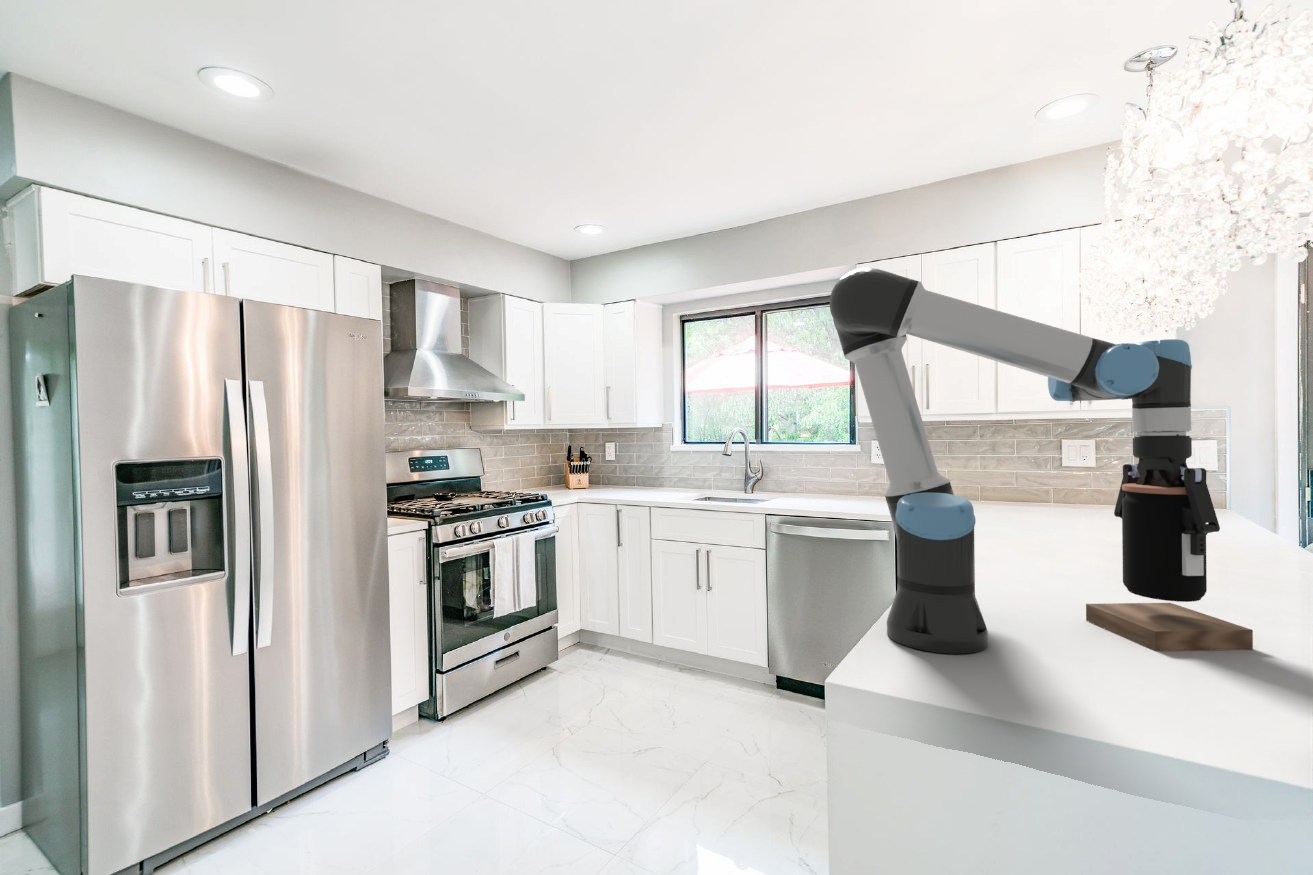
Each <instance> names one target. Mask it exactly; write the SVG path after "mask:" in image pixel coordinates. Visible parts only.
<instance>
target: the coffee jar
mask: <svg viewBox="0 0 1313 875" xmlns="http://www.w3.org/2000/svg"><path fill="white" fill-rule="evenodd" d="M1122 490H1124V492H1125V493H1126V496H1125V497H1124V498H1123V499H1122V518H1121V524H1122V525H1121V528H1122V529H1121V530H1122V532H1121V535H1122V538H1121V539H1122V540H1121V541H1122V545H1121V546H1122V583H1123V586H1124V587H1125V588H1126V590H1127V591H1128V592H1129V593H1131V594H1133V595H1135V596H1136V595H1137V596H1140V597H1142V598H1148V599H1153V600H1160V601H1161V600H1162V601H1166V602H1167V601H1168V602H1178V603H1179V602H1183V603H1185V602H1186V603H1188V602H1189V603H1190V602H1191V603H1192V602H1198V601H1202V600H1201V599H1203V597H1205V595H1206V593H1207V591H1208V590H1207V587H1208V586H1207V553H1206V554H1205V555H1204V576H1185V575H1182V533H1183V532H1184V531H1185V530H1186V529H1185V527H1184V525H1183V523H1182V507H1184V508H1188V509H1191V506H1190V503H1189V499H1188V496H1187V492H1186V489H1185V487H1172V488H1166V487H1161V486H1151V485H1138V484H1136V483H1130V484H1123V485H1122ZM1194 526H1196V525H1195V524H1194Z"/></svg>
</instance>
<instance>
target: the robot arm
mask: <svg viewBox="0 0 1313 875" xmlns="http://www.w3.org/2000/svg"><path fill="white" fill-rule="evenodd" d="M829 311H830V314H831V316H832V317H831V318H832V320H833V325H834V328H835V330H836V332H837V336H838V339H839V342H840V346H841V350H842V353H843V356H844V358H845V360H848V361H849V362H852V363H853V364H854V365H855V367H856V368H855V369H856V371H857V375H858V378H859V382H860V385H861V388H862V392H863V395H864V399H865V402H866V405H867V409H868V412H869V416H870V419H871V423H872V425H873V429H874V432H875V436H876V440H877V443H878V448H879V450H880V453H881V457H882V460H883V463H884V467H885V471H886V474H887V477H888V481H889V486H888V487H887V489H886V491H885V492H884V497H885V501H886V504H887V507H888V511H889V514H890V518H891V522H892V526H893V531H894V534H895V537H896V551H897V552H896V559H897V560H896V562H897V563H896V564H897V568H896V569H897V587H896V588H897V590H896V591H895V595H894V598H893V601H892V604H891V607H890V609H889V612H888V616H887V619H886V634H887V636H888V637H889V638H890V639H891V640H893V642H896V643H898V644H901V645H904V646H905V647H909V648H912V649H915V650H920V651H924V652H926V651H927V652H931V653H939V654H940V653H941V654H953V655H954V654H970V653H971V654H972V653H978V652H980V651H984V650H985V649H987V647H988V646H989V639H988V638H989V637H988V636H989V635H988V633H989V632H988V628H987V624H986V621H985V618H984V616H983V613H982V611H981V608H980V605H979V602H978V599H977V597H976V587H975V585H976V583H975V582H976V578H975V577H976V576H975V574H976V572H975V571H976V569H975V567H976V566H975V564H976V563H975V562H976V560H975V526H976V522H977V521H976V516H975V512H974V511H975V510H974V506H973V504H972V503H971V501H970V500H968V499H967V498H965V497H964V496H963V497H962V496H960V495H955V494H954V491H953V488H952V483H951V480H950V479H949V478H947V477H945V476H944V475H942V474H940V473H939V471H938V469H937V465H936V462H935V459H934V454H933V451H932V449H931V445H930V441H929V438H928V435H927V431H926V429H925V426H924V421H923V418H922V415H921V411H920V408H919V405H918V402H917V398H916V394H915V391H914V388H913V385H912V381H911V378H910V375H909V371H908V368H907V365H906V362H905V361H906V360H905V358H904V354H903V352H902V350H903V347H904V345H905V343H906V342H907V340H908V337H907V335H909V336H912V337H916V338H920V339H922V340H926V341H929V342H933V343H934V344H939V345H941V346H945V347H948V348H952V349H955V350H959V351H962V352H963V353H967V354H968V353H969V354H972V355H975V356H978V357H981V358H984V359H988V360H991V361H995V362H999V363H1001V364H1005V365H1007V366H1011V367H1015V368H1017V369H1021V370H1023V371H1026V372H1031V373H1034V374H1038V375H1039V376H1043V377H1047V387H1048V388H1047V389H1048V392H1049V396H1050V397H1051V398H1052V399H1053V400H1054V401H1057V402H1072V403H1075V402H1082V401H1083V402H1084V401H1085V402H1086V401H1087V402H1088V401H1092V402H1093V401H1108V400H1114V401H1115V400H1131V402H1132V403H1131V404H1132V405H1131V409H1132V410H1131V412H1132V413H1131V414H1132V415H1131V417H1132V418H1131V431H1132V432H1133V433H1136V435H1135V436H1134V437H1132V456H1133V457H1134V458H1137V459H1138V462H1137V463H1130V464H1129V463H1127V464H1126V463H1124V464H1123V466H1122V480H1121V484H1120V488H1119V492H1118V496H1117V499H1116V504H1115V508H1114V511H1113V515H1114V516H1115V517H1116V518H1120V519H1122V499H1123V498H1124V497H1125V496H1126V493H1125V492H1124V490H1122V485H1123V484H1130V483H1136V484H1138V485H1151V486H1161V487H1166V488H1172V487H1185V489H1186V492H1187V496H1188V499H1189V503H1190V506H1191V509H1188V508H1184V507H1182V523H1183V525H1184V527H1185V529H1186V530H1185V531H1184V532H1183V533H1182V575H1185V576H1204V555H1205V554H1206V555H1207V535H1208V534H1209V533H1211V534H1212V533H1214V532H1215V533H1219V531H1220V529H1221V528H1220V524H1219V521H1218V517H1217V513H1216V511H1215V507H1214V503H1213V501H1212V497H1211V494H1210V490H1209V487H1208V484H1207V469H1206V468H1204V467H1196V468H1195V467H1194V468H1193V467H1192V468H1191V467H1190V468H1189V467H1188V465H1187V459H1189V458H1191V457H1192V456H1193V453H1192V450H1193V449H1192V446H1193V445H1192V444H1193V443H1192V437H1191V436H1190V435H1187V433H1190V432H1191V431H1192V402H1191V400H1192V399H1191V398H1192V395H1191V394H1192V393H1191V392H1192V369H1193V364H1192V357H1191V351H1190V345H1189V343H1188V342H1187V341H1186V340H1184V339H1176V338H1175V339H1174V338H1173V339H1172V338H1171V339H1158V340H1147V341H1141V342H1136V343H1129V342H1127V343H1124V342H1123V343H1117V344H1116V343H1113V342H1109V341H1106V340H1102V339H1097V338H1093V337H1091V336H1088V335H1084V334H1080V333H1077V332H1073V331H1070V330H1067V329H1064V328H1059V327H1057V326H1053V325H1050V324H1049V325H1048V324H1046V323H1044V322H1043V323H1042V322H1039V321H1036V320H1032V319H1028V318H1026V317H1025V318H1024V317H1022V316H1019V315H1014V314H1011V313H1007V312H1004V311H1000V310H998V309H994V308H990V307H986V306H983V305H979V304H977V303H972V302H969V301H965V300H962V299H958V298H954V297H951V296H948V295H945V294H941V293H937V292H934V291H931V290H927V289H925V287H924V286H923V283H922V281H919V280H916V279H912V278H909V277H905V276H902V275H898V274H896V273H893V272H889V271H886V270H883V269H879V268H873V267H872V268H871V267H862V268H856V269H853V270H851V271H848V272H847V273H846V274H845V275H843V276H842V277H841V278H840V279H838V281H837V282H836V284H834V286H833V288H832V290H831V293H830V296H829ZM1194 524H1195V525H1196V526H1194Z"/></svg>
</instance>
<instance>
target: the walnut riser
mask: <svg viewBox="0 0 1313 875" xmlns="http://www.w3.org/2000/svg"><path fill="white" fill-rule="evenodd" d="M1085 617H1086V618H1085V621H1086V622H1088V621H1089V623H1090V622H1091V624H1093V623H1094V624H1093V625H1095V626H1097V627H1100V628H1102V629H1104V628H1105V630H1106V631H1110V632H1111V633H1114V634H1116V635H1119V636H1121V637H1122V636H1123V637H1122V638H1125V639H1127V640H1129V641H1132V642H1134V643H1136V644H1138V643H1139V644H1138V645H1141V646H1143V647H1146V648H1148V649H1150V650H1152V649H1153V651H1154V652H1160V651H1161V652H1162V651H1163V652H1165V651H1167V652H1168V651H1169V650H1177V651H1211V650H1210V649H1218V650H1217V651H1222V650H1221V649H1247V650H1254V648H1253V647H1254V646H1253V645H1254V644H1253V643H1254V640H1253V639H1254V636H1253V635H1254V634H1253V633H1254V632H1253V631H1254V630H1253V629H1250V628H1248V627H1246V626H1245V627H1244V626H1242V625H1238V624H1236V623H1233V622H1230V621H1227V620H1223V619H1220V618H1217V617H1215V616H1212V615H1208V614H1206V613H1203V612H1199V611H1197V610H1193V609H1190V608H1188V607H1184V606H1182V605H1178V604H1176V603H1172V602H1135V603H1134V602H1131V603H1129V602H1125V603H1123V602H1121V603H1116V602H1115V603H1086V604H1085ZM1219 649H1220V650H1219ZM1169 652H1170V651H1169Z"/></svg>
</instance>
